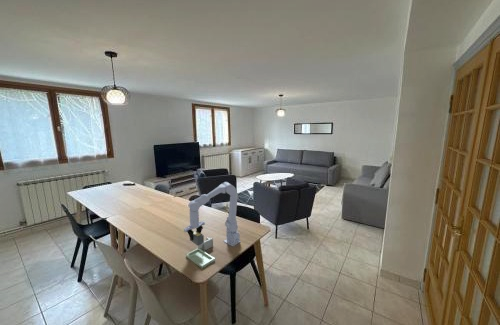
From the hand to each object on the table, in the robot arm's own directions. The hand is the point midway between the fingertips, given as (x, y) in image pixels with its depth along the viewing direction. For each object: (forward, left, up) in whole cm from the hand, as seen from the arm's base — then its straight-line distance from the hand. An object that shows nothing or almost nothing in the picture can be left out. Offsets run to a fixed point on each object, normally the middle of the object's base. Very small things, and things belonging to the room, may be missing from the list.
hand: (195, 238), depth 133 cm
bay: (-2, -7, -9) cm, 11 cm away
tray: (-10, +3, -9) cm, 14 cm away
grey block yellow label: (-2, 0, -2) cm, 2 cm away
